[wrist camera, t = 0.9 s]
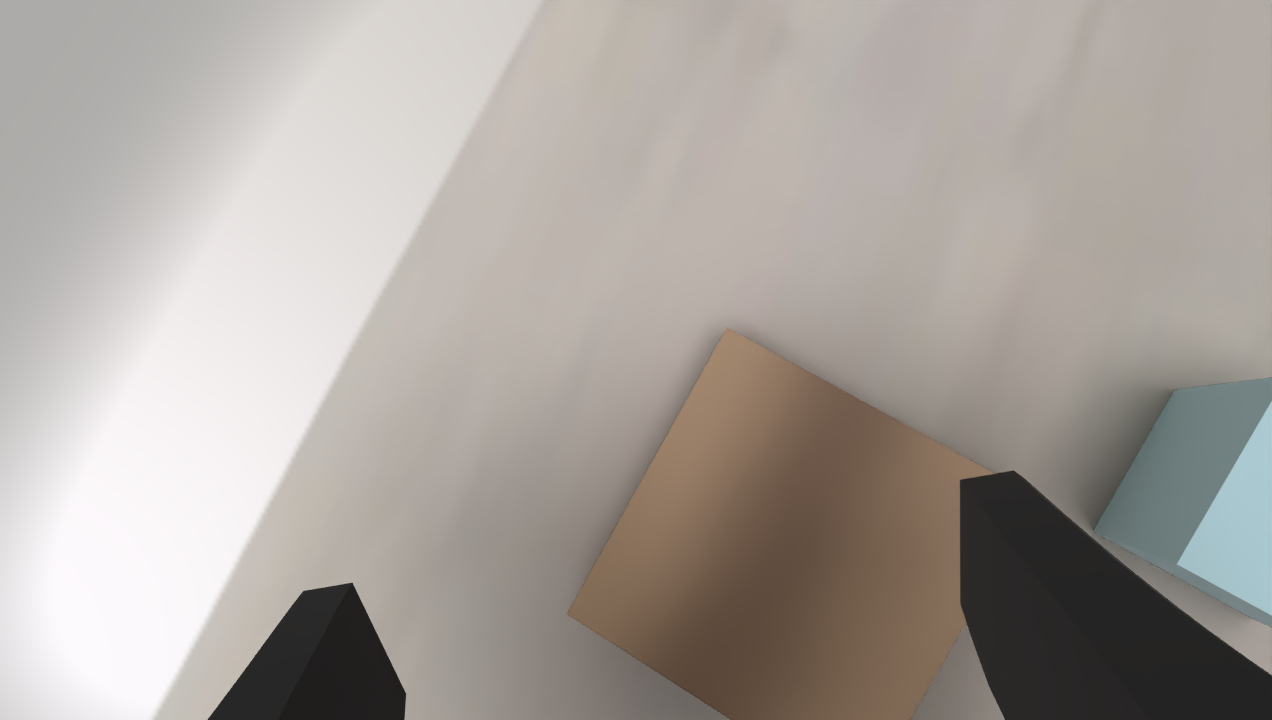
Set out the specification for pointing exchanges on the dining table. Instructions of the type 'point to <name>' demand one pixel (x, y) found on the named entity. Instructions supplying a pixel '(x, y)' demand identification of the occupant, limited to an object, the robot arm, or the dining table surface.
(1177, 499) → the teal block
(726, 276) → the dining table surface
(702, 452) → the walnut base block
